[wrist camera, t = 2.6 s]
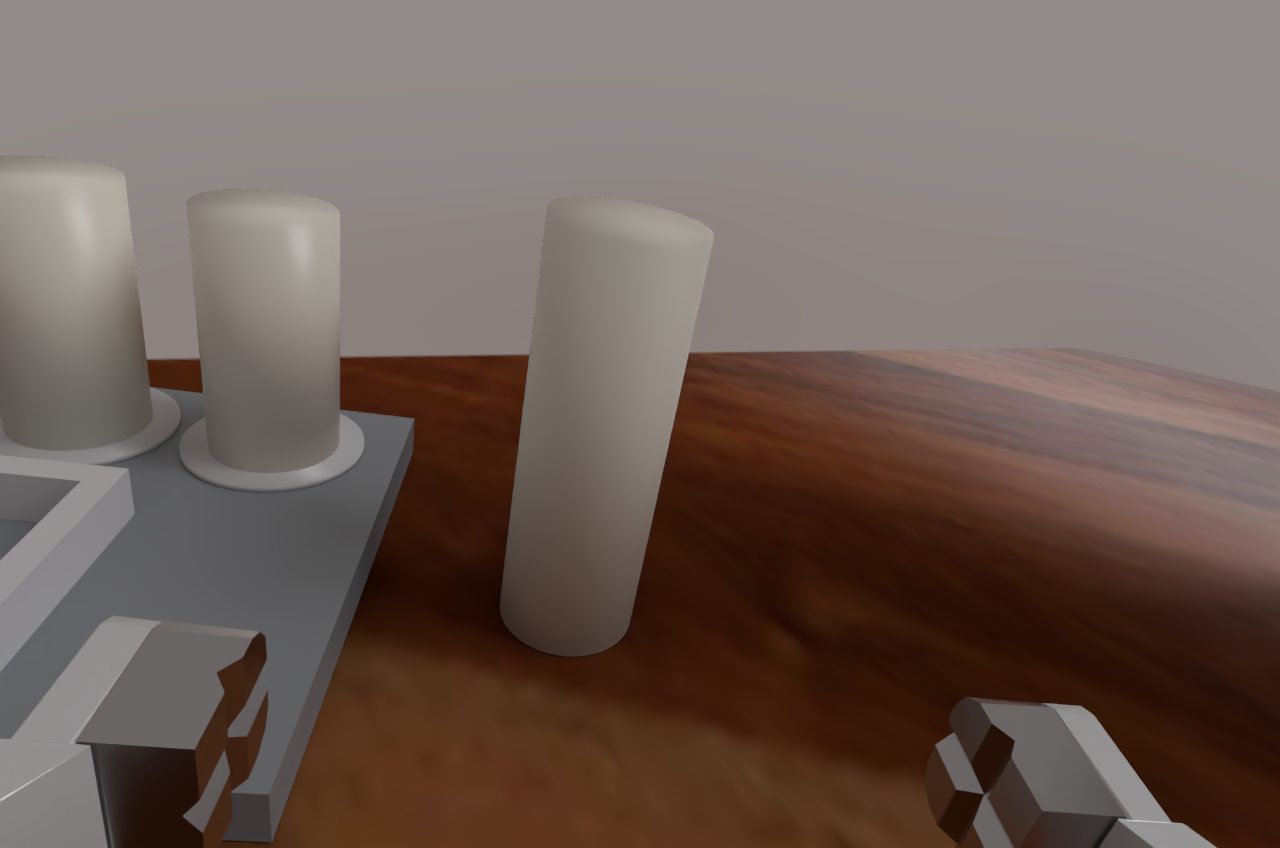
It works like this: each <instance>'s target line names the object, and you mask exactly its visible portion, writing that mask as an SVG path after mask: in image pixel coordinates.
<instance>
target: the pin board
mask: <svg viewBox="0 0 1280 848" xmlns="http://www.w3.org/2000/svg"><path fill="white" fill-rule="evenodd" d="M187 212H188V224H189V236H190V247H191V259H192V270H193V282H194V294H195V305H196V317H197V328H198V340H199V351H200V364H201V375H202V387H203V393H195V392H187V391H179V390H170V389H162V388H154V387H150V383H149V375H148V367H147V358H146V350H145V342H144V333H143V325H142V316H141V309H140V300H139V291H138V283H137V275H136V266H135V258H134V249H133V242H132V233H131V224H130V216H129V208H128V200H127V191H126V183H125V176H124V175H123V173H121V172H120V171H118V170H116V169H114V168H111V167H108V166H105V165H101V164H97V163H93V162H88V161H82V160H75V159H68V158H58V157H45V156H0V739H10V738H11V737H12V735H13V734H14V733H15V732H16V730H17V729H18V728H19V726H20V725H21V724H22V723H23V721H24V720H25V719H26V717H27V716H28V715H29V714H30V712H31V711H32V710H33V708H34V707H35V706H36V705H37V703H38V702H39V701H40V699H41V698H42V697H43V696H44V694H45V693H46V692H47V690H48V689H49V688H50V687H51V685H52V684H53V683H54V681H55V680H56V679H57V678H58V676H59V675H60V674H61V672H62V671H63V670H64V669H65V667H66V666H67V665H68V663H69V662H70V661H71V660H72V658H73V657H74V656H75V654H76V653H77V652H78V651H79V649H80V648H81V647H82V645H83V644H84V643H85V642H86V640H87V639H88V638H89V636H90V635H91V634H92V633H93V631H94V630H95V629H96V627H97V626H98V625H99V624H101V623H102V622H104V621H105V620H107V619H109V618H110V617H112V616H122V617H130V618H138V619H146V620H154V621H162V622H163V621H173V622H181V623H190V624H198V625H207V626H216V627H224V628H233V629H241V630H250V631H258V632H261V633H262V634H264V635H265V636H266V650H267V660H266V662H265V664H264V667H263V669H262V671H261V673H260V675H259V677H258V679H259V680H260V681H261V682H262V683H263V684H264V685H265V686H266V688H267V689H268V712H267V721H266V728H265V732H264V735H263V739H262V743H261V747H260V750H259V754H258V757H257V759H256V762H255V764H254V767H253V769H252V771H251V774H250V776H249V779H247V780H246V781H245V782H243V783H242V784H241V785H239V786H238V787H237V788H235V789H234V790H233V791H231V796H232V819H231V821H230V823H229V826H228V828H227V830H226V832H225V835H224V837H223V839H222V840H229V841H250V842H272V841H273V838H274V835H275V832H276V830H277V827H278V824H279V821H280V819H281V816H282V813H283V810H284V808H285V805H286V802H287V799H288V797H289V794H290V791H291V788H292V785H293V783H294V780H295V777H296V774H297V772H298V769H299V766H300V763H301V761H302V758H303V755H304V752H305V750H306V747H307V744H308V741H309V738H310V736H311V733H312V730H313V727H314V725H315V722H316V719H317V716H318V714H319V711H320V708H321V705H322V703H323V700H324V697H325V694H326V691H327V689H328V686H329V683H330V680H331V678H332V675H333V672H334V669H335V667H336V664H337V661H338V658H339V656H340V653H341V650H342V647H343V645H344V642H345V639H346V636H347V633H348V631H349V628H350V625H351V622H352V620H353V617H354V614H355V611H356V609H357V606H358V603H359V600H360V598H361V595H362V592H363V589H364V586H365V584H366V581H367V578H368V575H369V573H370V570H371V567H372V564H373V562H374V559H375V556H376V553H377V551H378V548H379V545H380V542H381V539H382V537H383V534H384V531H385V528H386V526H387V523H388V520H389V517H390V515H391V512H392V509H393V506H394V504H395V501H396V498H397V495H398V492H399V490H400V487H401V484H402V481H403V479H404V476H405V473H406V470H407V468H408V465H409V462H410V459H411V457H412V454H413V438H414V418H405V417H397V416H388V415H380V414H372V413H363V412H355V411H346V410H340V212H339V210H338V209H337V208H336V207H335V206H333V205H331V204H329V203H327V202H325V201H322V200H320V199H316V198H313V197H309V196H305V195H301V194H296V193H290V192H283V191H275V190H263V189H224V190H216V191H208V192H204V193H200V194H197V195H195V196H193V197H191V198H190V199H189V200H188V201H187Z"/></svg>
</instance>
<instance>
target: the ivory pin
mask: <svg viewBox="0 0 1280 848" xmlns="http://www.w3.org/2000/svg"><path fill="white" fill-rule="evenodd" d="M713 240H714V233H713V232H712V230H711V229H709V228H708V227H707V226H705V225H704V224H702V223H701V222H699V221H697V220H695V219H692V218H690V217H688V216H685V215H682V214H679V213H677V212H674V211H670V210H667V209H663V208H659V207H656V206H652V205H648V204H643V203H638V202H632V201H627V200H619V199H612V198H602V197H567V198H560V199H557V200H554V201H552V202H550V203H549V204H548V206H547V213H546V221H545V230H544V238H543V246H542V254H541V263H540V272H539V279H538V288H537V296H536V304H535V313H534V321H533V329H532V339H531V346H530V355H529V363H528V371H527V380H526V388H525V396H524V405H523V413H522V421H521V430H520V438H519V447H518V455H517V463H516V472H515V480H514V488H513V497H512V505H511V513H510V522H509V530H508V539H507V547H506V555H505V564H504V572H503V580H502V589H501V597H500V614H501V617H502V620H503V622H504V624H505V626H506V627H507V628H508V630H509V631H510V632H511V633H512V634H513V635H514V636H515V637H516V638H517V639H519V640H520V641H521V642H523V643H525V644H526V645H528V646H530V647H532V648H534V649H536V650H539V651H542V652H545V653H548V654H553V655H559V656H571V657H576V656H586V655H592V654H595V653H599V652H602V651H604V650H606V649H608V648H610V647H612V646H613V645H615V644H616V643H617V642H619V641H620V640H621V639H622V637H623V636H624V635H625V633H626V632H627V630H628V627H629V624H630V619H631V615H632V610H633V606H634V601H635V597H636V592H637V587H638V583H639V578H640V574H641V569H642V564H643V560H644V555H645V551H646V546H647V542H648V537H649V532H650V528H651V523H652V519H653V514H654V510H655V505H656V500H657V496H658V491H659V487H660V482H661V478H662V473H663V468H664V464H665V459H666V455H667V450H668V445H669V441H670V436H671V432H672V427H673V423H674V418H675V413H676V409H677V404H678V400H679V395H680V391H681V386H682V381H683V377H684V372H685V368H686V363H687V359H688V354H689V349H690V344H691V340H692V336H693V331H694V326H695V321H696V317H697V312H698V308H699V303H700V299H701V294H702V289H703V285H704V281H705V276H706V272H707V267H708V262H709V258H710V253H711V248H712V244H713Z"/></svg>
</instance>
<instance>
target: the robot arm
mask: <svg viewBox="0 0 1280 848" xmlns="http://www.w3.org/2000/svg"><path fill="white" fill-rule="evenodd" d="M266 660H267V650H266V636H265V635H264V634H262V633H261V632H258V631H250V630H241V629H233V628H224V627H216V626H207V625H198V624H190V623H181V622H173V621H163V622H162V621H154V620H146V619H138V618H130V617H122V616H112V617H110V618H109V619H107V620H105V621H104V622H102V623H101V624H99V625H98V626H97V627H96V629H95V630H94V631H93V633H92V634H91V635H90V636H89V638H88V639H87V640H86V642H85V643H84V644H83V645H82V647H81V648H80V649H79V651H78V652H77V653H76V654H75V656H74V657H73V658H72V660H71V661H70V662H69V663H68V665H67V666H66V667H65V669H64V670H63V671H62V672H61V674H60V675H59V676H58V678H57V679H56V680H55V681H54V683H53V684H52V685H51V687H50V688H49V689H48V690H47V692H46V693H45V694H44V696H43V697H42V698H41V699H40V701H39V702H38V703H37V705H36V706H35V707H34V708H33V710H32V711H31V712H30V714H29V715H28V716H27V717H26V719H25V720H24V721H23V723H22V724H21V725H20V726H19V728H18V729H17V730H16V732H15V733H14V734H13V735H12V737H11V738H10V739H0V848H219V846H220V844H221V842H222V839H223V837H224V835H225V832H226V830H227V828H228V826H229V823H230V821H231V819H232V796H231V791H233V790H234V789H235V788H237V787H238V786H239V785H241V784H242V783H243V782H245V781H246V780H247V779H249V776H250V774H251V771H252V769H253V767H254V764H255V762H256V759H257V757H258V754H259V750H260V747H261V743H262V739H263V735H264V732H265V728H266V721H267V712H268V689H267V688H266V686H265V685H264V684H263V683H262V682H261V681H260V680H259V679H258V677H259V675H260V673H261V671H262V669H263V667H264V664H265V662H266ZM948 720H949V723H950V725H951V728H952V730H953V733H952V734H951V735H949V736H948V737H946V738H945V739H943V740H942V741H940V742H939V743H937V744H936V745H935V747H934V749H933V751H932V753H931V756H930V758H929V760H928V763H927V768H926V792H927V797H928V802H929V806H930V809H931V811H932V813H933V816H934V818H935V821H936V823H937V825H938V826H939V827H940V828H941V829H942V830H943V831H944V832H945V833H946V834H947V835H948V836H949V837H950V838H952V839H953V840H954V841H955V842H956V843H957V846H956V848H1217V847H1215V846H1214V845H1212V844H1211V843H1210V842H1208V841H1207V840H1206V839H1204V838H1203V837H1201V836H1200V835H1199V834H1197V833H1196V832H1195V831H1193V830H1192V829H1190V828H1189V827H1188V826H1186V825H1185V824H1182V823H1172V822H1171V821H1170V819H1169V818H1168V817H1167V815H1166V814H1165V812H1164V811H1163V810H1162V808H1161V807H1160V806H1159V804H1158V803H1157V801H1156V800H1155V799H1154V797H1153V796H1152V795H1151V793H1150V792H1149V790H1148V789H1147V788H1146V786H1145V785H1144V783H1143V782H1142V781H1141V779H1140V778H1139V777H1138V775H1137V774H1136V772H1135V771H1134V770H1133V768H1132V767H1131V766H1130V764H1129V763H1128V761H1127V760H1126V759H1125V757H1124V756H1123V755H1122V753H1121V752H1120V750H1119V749H1118V748H1117V746H1116V745H1115V743H1114V742H1113V741H1112V739H1111V738H1110V737H1109V735H1108V734H1107V732H1106V731H1105V730H1104V728H1103V727H1102V726H1101V724H1100V723H1099V721H1098V720H1097V719H1096V717H1095V716H1094V715H1093V714H1092V713H1090V712H1089V711H1088V710H1086V709H1085V708H1083V707H1082V706H1074V705H1061V704H1049V703H1042V704H1039V703H1034V702H1022V701H1010V700H998V699H986V698H973V697H965V698H964V699H962V700H961V701H960V702H958V703H957V704H956V705H955V707H954V709H953V711H952V713H951V715H950V717H949V718H948Z"/></svg>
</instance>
